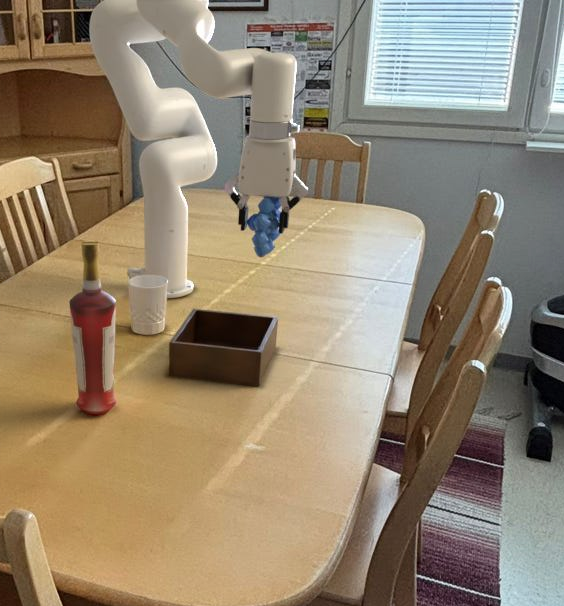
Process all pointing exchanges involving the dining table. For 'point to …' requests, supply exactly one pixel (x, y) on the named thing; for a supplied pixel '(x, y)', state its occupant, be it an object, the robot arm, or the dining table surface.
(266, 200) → the grapes
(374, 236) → the dining table surface
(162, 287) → the white cup
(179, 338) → the brown wooden box
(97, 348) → the liquor
